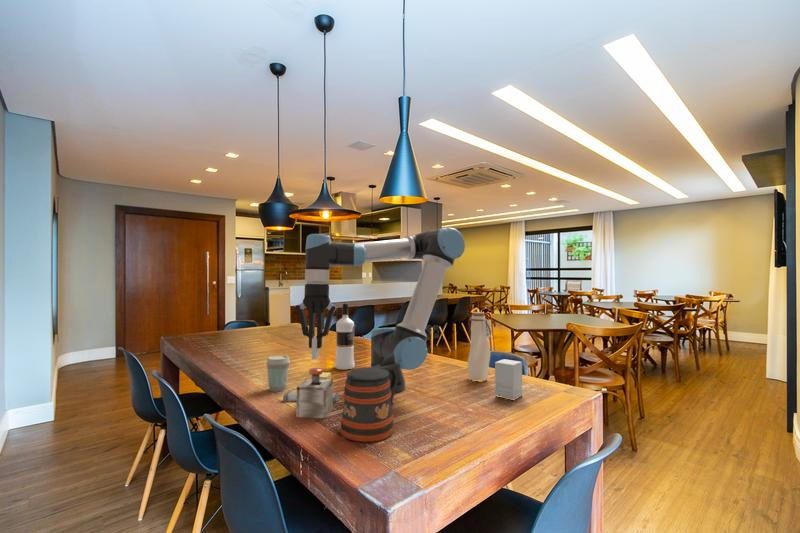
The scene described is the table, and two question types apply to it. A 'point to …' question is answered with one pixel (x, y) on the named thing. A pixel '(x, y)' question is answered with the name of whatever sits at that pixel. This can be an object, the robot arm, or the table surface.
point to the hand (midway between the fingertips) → (315, 358)
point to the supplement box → (508, 378)
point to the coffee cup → (277, 372)
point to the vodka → (344, 342)
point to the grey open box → (314, 399)
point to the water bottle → (479, 347)
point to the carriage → (325, 376)
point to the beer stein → (369, 402)
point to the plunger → (315, 375)
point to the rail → (293, 397)
